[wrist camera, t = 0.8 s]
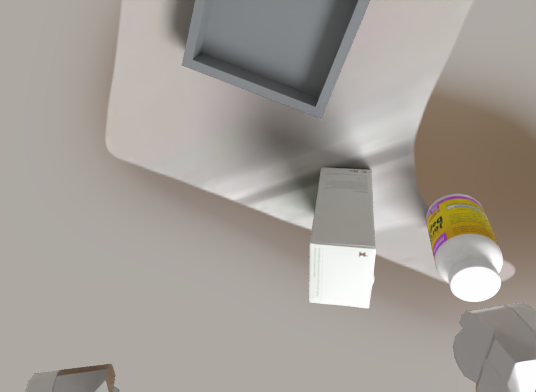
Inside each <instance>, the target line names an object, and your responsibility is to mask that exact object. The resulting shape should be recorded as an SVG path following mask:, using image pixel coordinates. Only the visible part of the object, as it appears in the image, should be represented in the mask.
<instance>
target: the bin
mask: <svg viewBox="0 0 536 392" xmlns="http://www.w3.org/2000/svg"><path fill="white" fill-rule="evenodd" d="M369 2H370V0H195V3H194V8H193V13H192V18H191V23H190V28H189V33H188V38H187V42H186V47H185V52H184V57H183V62H182V66H185V67H187V68H190V69H193V70H195V71H198V72H201V73H203V74H206V75H208V76H211V77H214V78H216V79H219V80H221V81H224V82H227V83H229V84H232V85H235V86H237V87H240V88H242V89H245V90H248V91H250V92H253V93H255V94H258V95H261V96H263V97H266V98H268V99H271V100H274V101H276V102H279V103H282V104H284V105H287V106H289V107H292V108H295V109H297V110H300V111H302V112H305V113H308V114H310V115H313V116H316V117H318V118H321V117H322V115H323V112H324V110H325V108H326V105H327V103H328V100H329V98H330V96H331V93H332V91H333V88H334V86H335V84H336V81H337V79H338V76H339V74H340V72H341V69H342V67H343V64H344V62H345V60H346V57H347V55H348V52H349V50H350V48H351V45H352V43H353V40H354V38H355V36H356V33H357V31H358V28H359V26H360V24H361V21H362V19H363V16H364V14H365V12H366V9H367V7H368V4H369Z"/></svg>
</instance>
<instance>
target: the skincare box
mask: <svg viewBox="0 0 536 392" xmlns="http://www.w3.org/2000/svg"><path fill="white" fill-rule="evenodd" d="M309 250H310V252H309V302H313V303H322V304H334V305H343V306H353V307H362V308H369V302H370V296H371V288H372V285H373V283H374V275H373V272H374V263H375V253H376V247H375V230H374V213H373V194H372V171H371V170H366V169H347V168H327V167H322V168H321V172H320V179H319V186H318V193H317V200H316V206H315V213H314V220H313V226H312V233H311V240H310V249H309Z"/></svg>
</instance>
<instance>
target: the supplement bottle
mask: <svg viewBox="0 0 536 392" xmlns="http://www.w3.org/2000/svg"><path fill="white" fill-rule="evenodd" d="M426 221H427V227H428V232H429V237H430V241H431V246H432V251H433V256H434V261H435V266H436V269H437V271H438V273H439V274H440V276H441V277H442V278H443V279H444V280H445V281H447V282H449V284H450V288H451V290H452V292H453V294H454V295H456V296H457V297H458V298H460V299H462V300H465V301H471V302H478V301H484V300H487V299H489V298H491V297H492V296H494V295H495V294H496V293H497V292H498V290H499V288H500V285H501V280H500V277H499V272H500V270H501V268H502V264H503V257H502V253H501V251H500V248H499V246H498V243H497V241H496V239H495V236H494V234H493V231H492V229H491V226H490V224H489V222H488V219H487V217H486V214H485V212H484V210H483V208H482V206H481V204H480V203H479V202H478V201H477V200H476V199H474V198H473V197H471V196H469V195H466V194H459V193H457V194H456V193H455V194H449V195H445V196H442V197H440V198H439V199H437V200H436V201H434V202H433V204H431V206H430V207H429V209H428V211H427V215H426Z"/></svg>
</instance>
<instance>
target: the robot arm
mask: <svg viewBox="0 0 536 392" xmlns="http://www.w3.org/2000/svg"><path fill="white" fill-rule="evenodd" d="M459 323H460V325H461V326H462V328H463V329H462V330H461V331H460V332H459V333H458V334H457V335H456V336H455V340H454V344H453V350H454V357H455V360H456V362H457V364H458V367H459V368H460V370H461V371H462V373H463V374H464V376H465V377H467V378H469V379H470V380H472V381H474V382H475V383H476V392H536V311H535V310H534V309H533V308H532V307H531V306H530V305H528V304H526V303H524V302H522V303H515V304H509V305H504V306H495V307H488V308H482V309H475V310H469V311H466V312H465V313H464V314H463V315H462V316H461V319H460V322H459ZM114 381H115V372H114V369H113V366H112V364H105V365H97V366H89V367H81V368H72V369H64V370H59V371H51V372H43V373H35V374H34V375H33V376H32V378H31V379H30V380H29V383H28V385H27V388H26V391H25V392H119V389H118V388H117V387H115V386H114Z"/></svg>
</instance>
